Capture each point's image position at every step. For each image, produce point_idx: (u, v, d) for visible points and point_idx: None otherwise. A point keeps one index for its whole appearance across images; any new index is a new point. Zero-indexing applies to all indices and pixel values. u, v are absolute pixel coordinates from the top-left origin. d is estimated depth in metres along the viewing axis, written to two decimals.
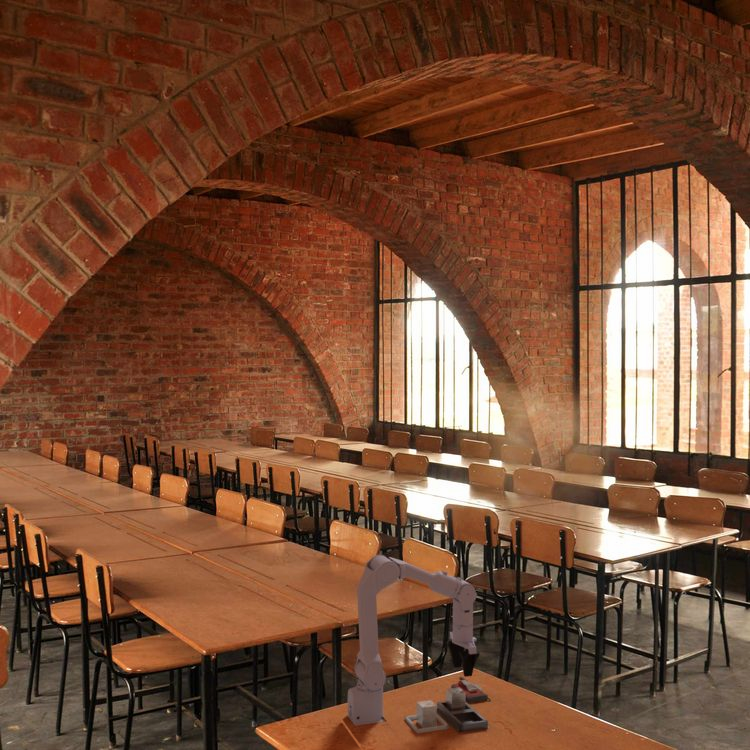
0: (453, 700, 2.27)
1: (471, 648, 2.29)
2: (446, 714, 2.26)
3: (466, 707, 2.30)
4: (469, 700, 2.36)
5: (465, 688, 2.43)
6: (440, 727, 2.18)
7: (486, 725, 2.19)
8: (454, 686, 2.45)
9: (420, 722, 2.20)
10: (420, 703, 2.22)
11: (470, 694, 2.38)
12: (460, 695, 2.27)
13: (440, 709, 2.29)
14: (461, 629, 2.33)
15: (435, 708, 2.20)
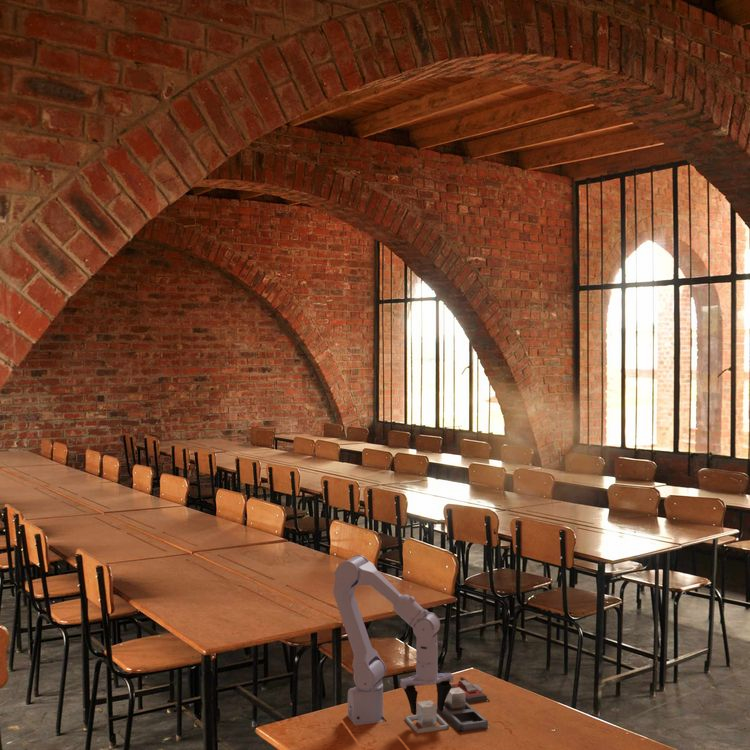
0: (453, 700, 2.27)
1: (400, 680, 2.20)
2: (446, 714, 2.26)
3: (466, 707, 2.30)
4: (468, 700, 2.36)
5: (464, 688, 2.43)
6: (440, 727, 2.18)
7: (486, 725, 2.19)
8: (454, 686, 2.45)
9: (420, 722, 2.20)
10: (420, 703, 2.22)
11: (469, 694, 2.38)
12: (460, 695, 2.27)
13: None
14: None
15: (435, 708, 2.20)
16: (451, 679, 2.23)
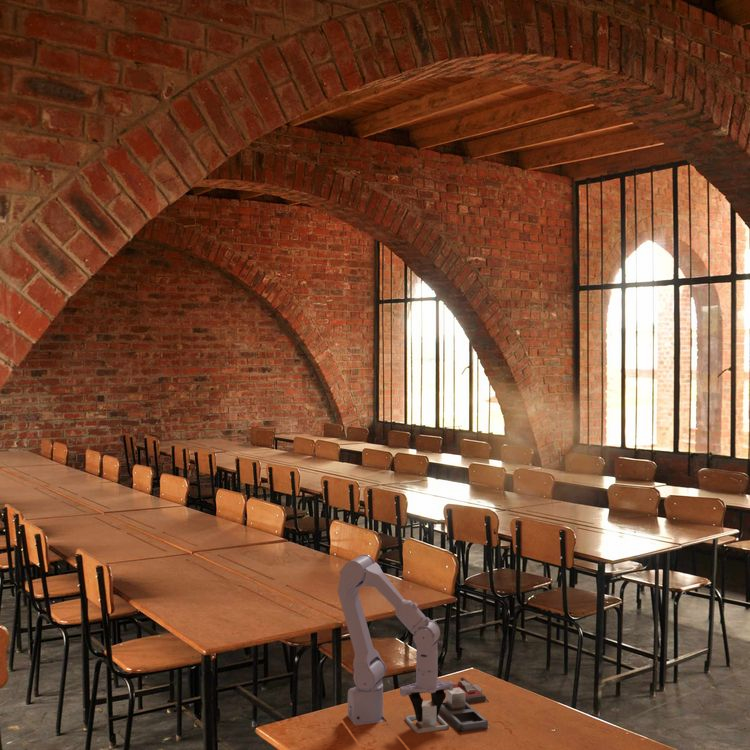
0: (453, 700, 2.27)
1: (400, 688, 2.20)
2: (446, 714, 2.26)
3: (466, 707, 2.30)
4: (467, 701, 2.36)
5: (464, 689, 2.42)
6: (440, 727, 2.18)
7: (486, 725, 2.19)
8: (453, 687, 2.45)
9: (420, 722, 2.20)
10: None
11: (468, 695, 2.38)
12: (460, 695, 2.27)
13: (440, 709, 2.29)
14: None
15: (435, 708, 2.20)
16: (451, 687, 2.23)
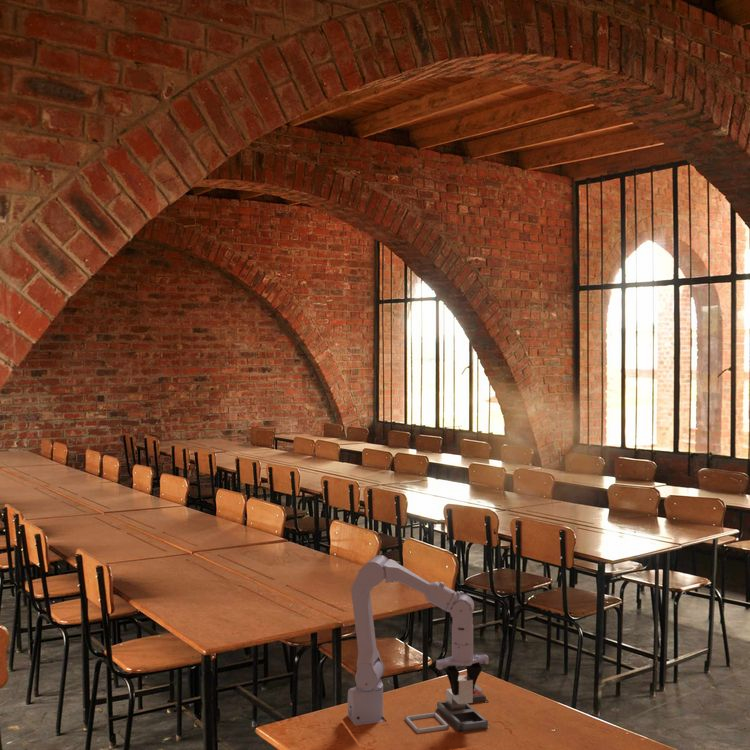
0: (453, 700, 2.27)
1: (436, 662, 2.20)
2: (446, 714, 2.26)
3: (466, 707, 2.30)
4: None
5: None
6: (440, 727, 2.18)
7: (486, 725, 2.19)
8: None
9: (457, 697, 2.20)
10: None
11: None
12: None
13: (440, 709, 2.29)
14: None
15: (471, 682, 2.20)
16: (486, 660, 2.23)
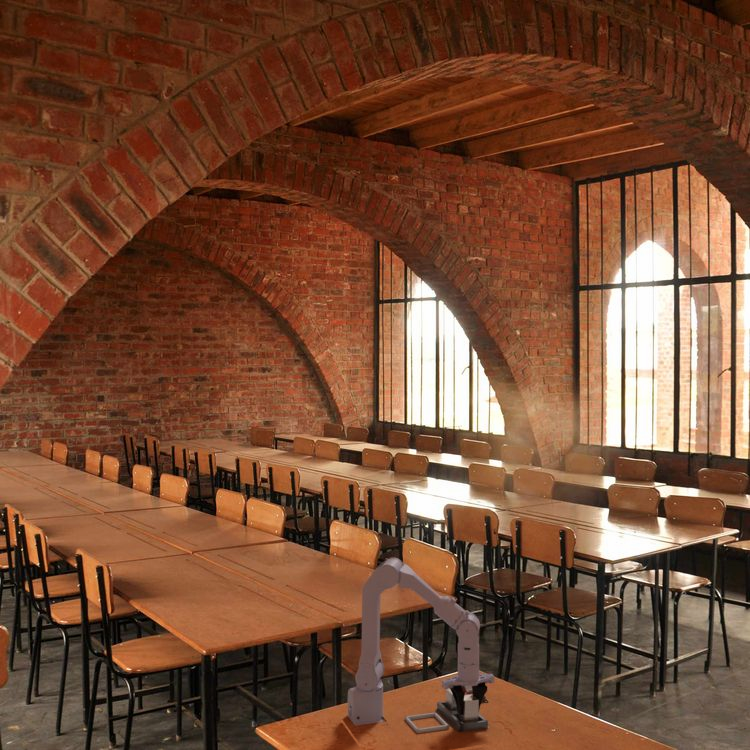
0: (453, 700, 2.27)
1: (442, 681, 2.20)
2: (446, 714, 2.26)
3: None
4: None
5: (464, 689, 2.42)
6: (440, 727, 2.18)
7: (486, 725, 2.19)
8: None
9: (462, 716, 2.20)
10: None
11: None
12: None
13: (440, 709, 2.29)
14: None
15: (477, 702, 2.20)
16: (492, 680, 2.23)
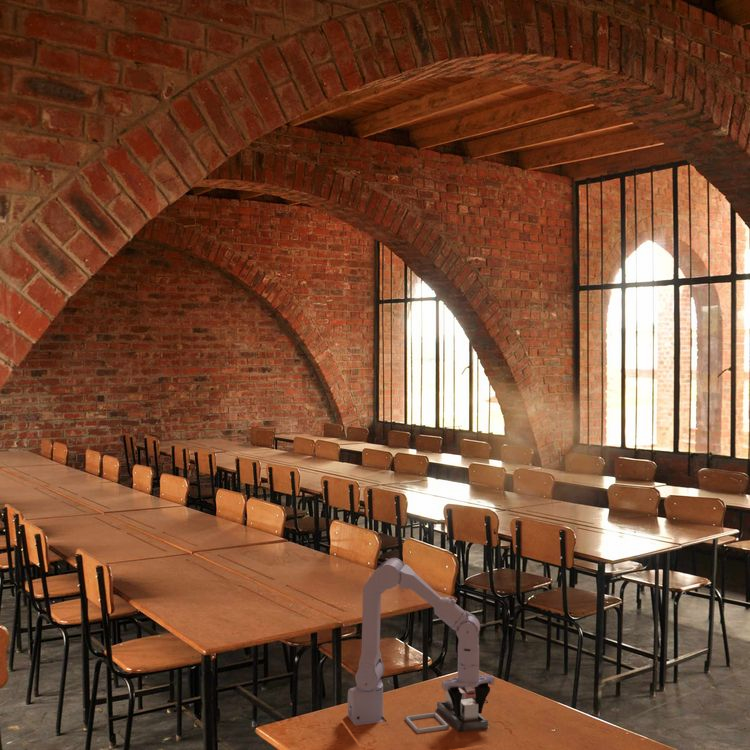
0: None
1: (442, 682, 2.20)
2: (446, 714, 2.26)
3: None
4: None
5: (464, 689, 2.42)
6: (440, 727, 2.18)
7: (486, 725, 2.19)
8: None
9: (462, 720, 2.20)
10: (461, 701, 2.22)
11: (467, 695, 2.38)
12: None
13: (440, 709, 2.29)
14: None
15: (477, 706, 2.20)
16: (492, 681, 2.23)
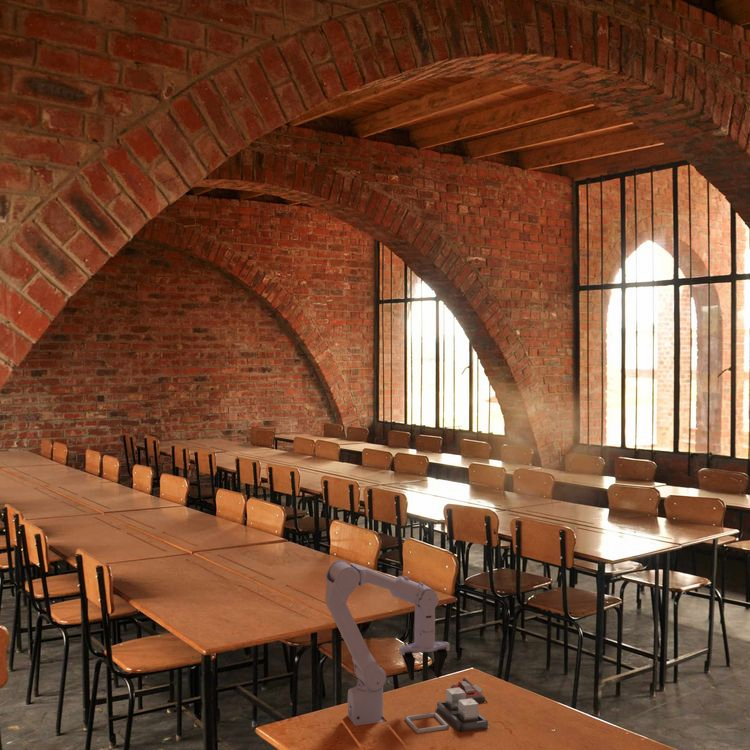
0: (453, 700, 2.27)
1: (399, 648, 2.31)
2: (446, 714, 2.26)
3: None
4: None
5: (463, 689, 2.42)
6: (440, 727, 2.18)
7: (486, 725, 2.19)
8: (453, 687, 2.45)
9: (462, 720, 2.20)
10: (461, 701, 2.22)
11: (467, 695, 2.37)
12: (460, 695, 2.27)
13: (440, 709, 2.29)
14: None
15: (477, 706, 2.20)
16: (447, 647, 2.34)
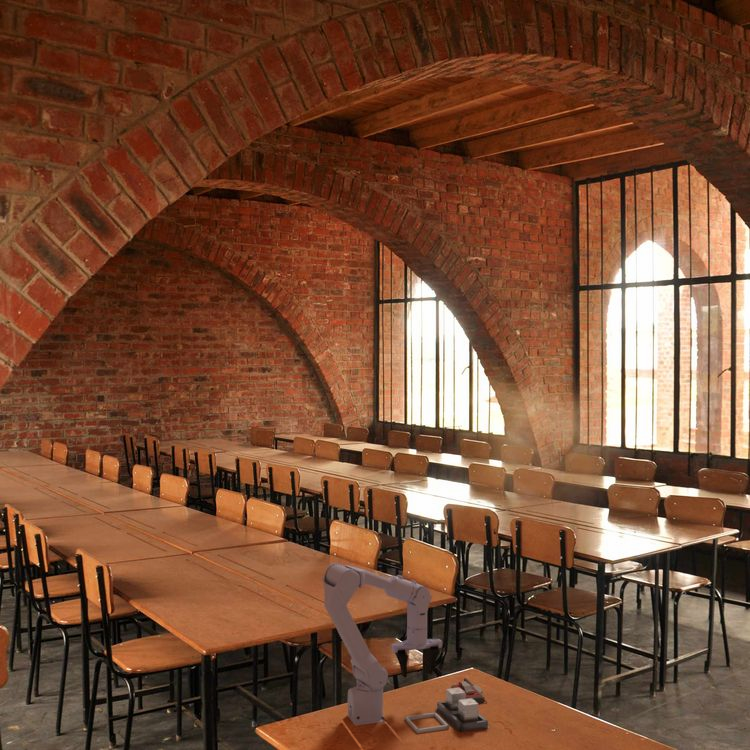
0: (453, 700, 2.27)
1: (392, 645, 2.33)
2: (446, 714, 2.26)
3: None
4: None
5: (463, 689, 2.42)
6: (440, 727, 2.18)
7: (486, 725, 2.19)
8: (453, 687, 2.45)
9: (462, 720, 2.20)
10: (461, 701, 2.22)
11: (466, 696, 2.37)
12: (460, 695, 2.27)
13: (440, 709, 2.29)
14: None
15: (477, 706, 2.20)
16: (440, 644, 2.36)
